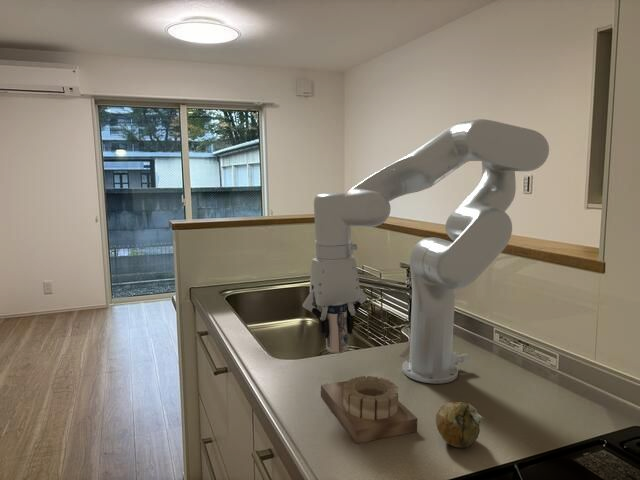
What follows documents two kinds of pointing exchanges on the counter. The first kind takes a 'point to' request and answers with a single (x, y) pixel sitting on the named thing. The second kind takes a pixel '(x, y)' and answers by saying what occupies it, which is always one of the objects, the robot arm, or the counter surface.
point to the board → (367, 425)
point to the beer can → (337, 328)
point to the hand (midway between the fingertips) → (336, 333)
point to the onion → (458, 423)
